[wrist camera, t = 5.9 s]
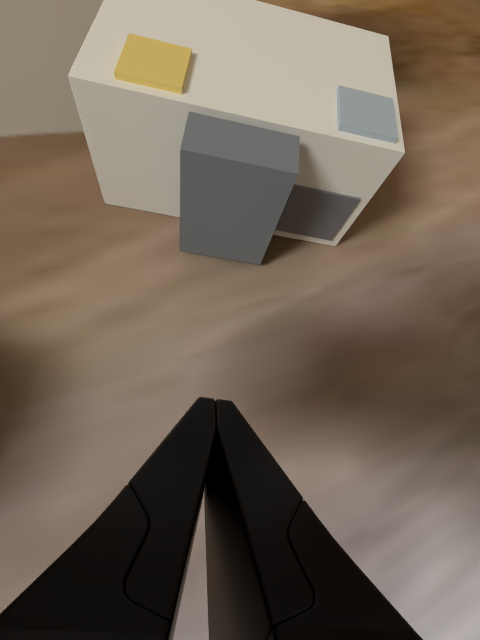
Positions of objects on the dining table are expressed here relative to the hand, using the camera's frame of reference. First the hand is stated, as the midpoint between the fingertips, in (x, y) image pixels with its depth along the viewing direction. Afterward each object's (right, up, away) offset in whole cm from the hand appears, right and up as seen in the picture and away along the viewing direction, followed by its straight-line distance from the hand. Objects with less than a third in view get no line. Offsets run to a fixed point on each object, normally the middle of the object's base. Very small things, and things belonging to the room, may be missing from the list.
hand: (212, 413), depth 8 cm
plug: (0, +11, +15) cm, 18 cm away
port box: (0, +13, +16) cm, 21 cm away
